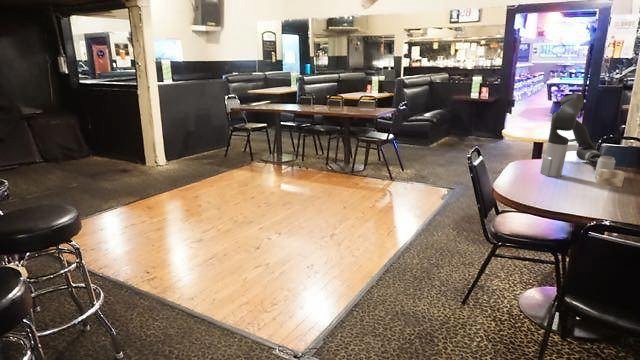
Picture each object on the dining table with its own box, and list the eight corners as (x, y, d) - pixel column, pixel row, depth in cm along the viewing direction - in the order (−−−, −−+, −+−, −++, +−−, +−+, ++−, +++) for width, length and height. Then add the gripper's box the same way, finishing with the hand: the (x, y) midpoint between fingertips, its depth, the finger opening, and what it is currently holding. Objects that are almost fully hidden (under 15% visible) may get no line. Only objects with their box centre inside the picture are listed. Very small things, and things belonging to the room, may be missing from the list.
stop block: (598, 184, 208) (601, 170, 206) (596, 182, 212) (599, 168, 210) (621, 186, 205) (625, 173, 203) (618, 184, 209) (622, 171, 207)
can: (613, 181, 213) (619, 159, 209) (597, 180, 214) (603, 158, 210) (606, 177, 220) (612, 155, 216) (591, 176, 221) (596, 154, 217)
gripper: (582, 150, 235) (591, 157, 219) (609, 153, 231) (620, 160, 215) (579, 163, 237) (587, 171, 221) (606, 166, 233) (616, 174, 217)
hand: (603, 165), depth 218 cm, fingers closed
